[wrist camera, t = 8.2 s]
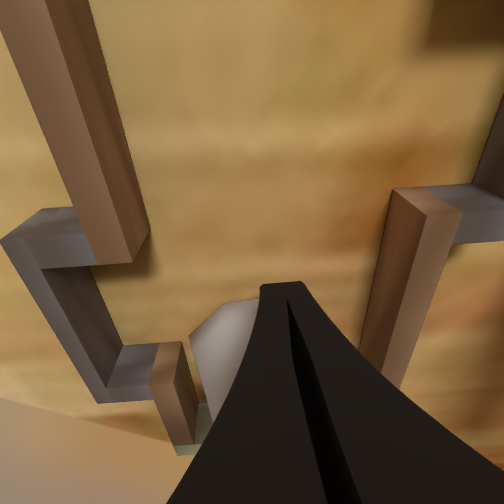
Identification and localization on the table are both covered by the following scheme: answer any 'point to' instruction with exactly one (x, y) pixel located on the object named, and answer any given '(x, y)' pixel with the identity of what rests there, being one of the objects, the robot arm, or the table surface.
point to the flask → (222, 348)
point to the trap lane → (137, 227)
